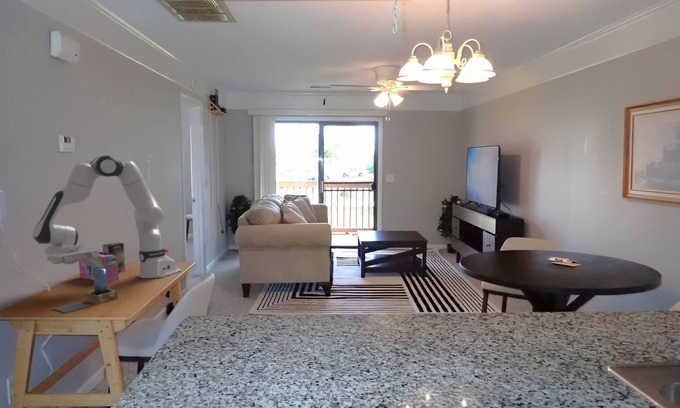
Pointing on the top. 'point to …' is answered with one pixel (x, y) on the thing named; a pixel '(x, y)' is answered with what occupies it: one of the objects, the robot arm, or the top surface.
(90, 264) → the gum box
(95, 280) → the tall blue steel cylinder
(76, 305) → the charcoal mat
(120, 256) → the coffee box
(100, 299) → the oak collar
